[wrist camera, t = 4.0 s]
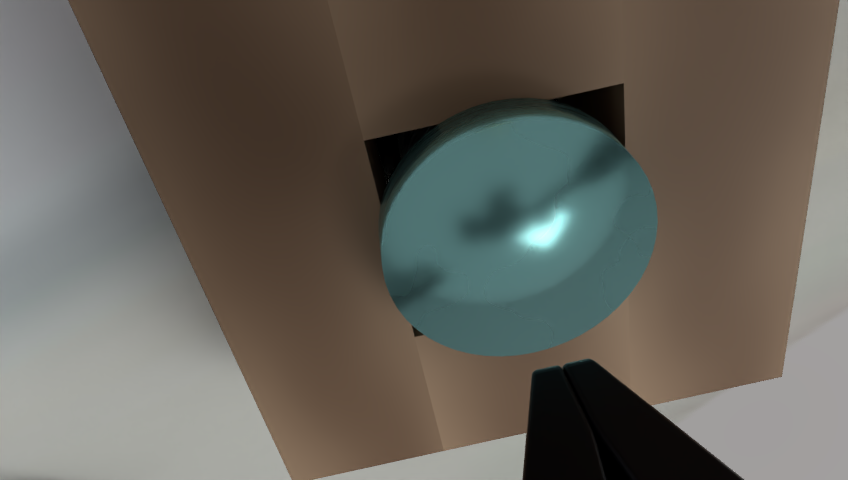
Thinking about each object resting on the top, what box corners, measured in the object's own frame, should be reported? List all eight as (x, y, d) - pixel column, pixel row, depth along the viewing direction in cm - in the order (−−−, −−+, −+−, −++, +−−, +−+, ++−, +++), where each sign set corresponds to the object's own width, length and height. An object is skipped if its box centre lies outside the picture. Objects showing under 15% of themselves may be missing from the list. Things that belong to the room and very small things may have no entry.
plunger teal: (564, 8, 15) (659, 89, 11) (577, 199, 18) (656, 325, 13) (345, 57, 15) (350, 157, 11) (392, 240, 18) (411, 379, 13)
